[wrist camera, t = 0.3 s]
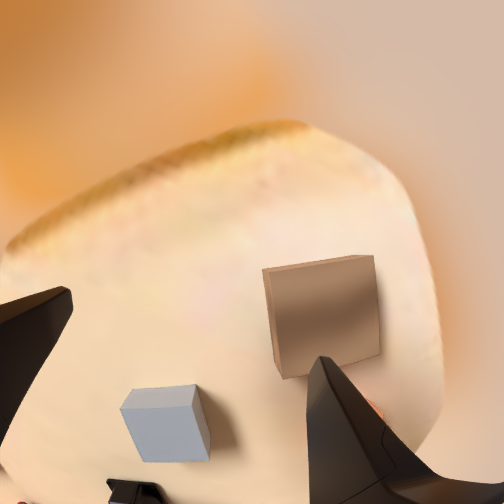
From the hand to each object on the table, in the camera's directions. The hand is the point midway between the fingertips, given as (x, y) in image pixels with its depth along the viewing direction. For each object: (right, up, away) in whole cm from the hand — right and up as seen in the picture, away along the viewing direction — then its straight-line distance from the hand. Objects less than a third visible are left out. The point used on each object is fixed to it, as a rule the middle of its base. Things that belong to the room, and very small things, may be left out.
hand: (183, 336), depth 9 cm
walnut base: (+7, -2, +15) cm, 17 cm away
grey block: (-5, -12, +13) cm, 19 cm away
